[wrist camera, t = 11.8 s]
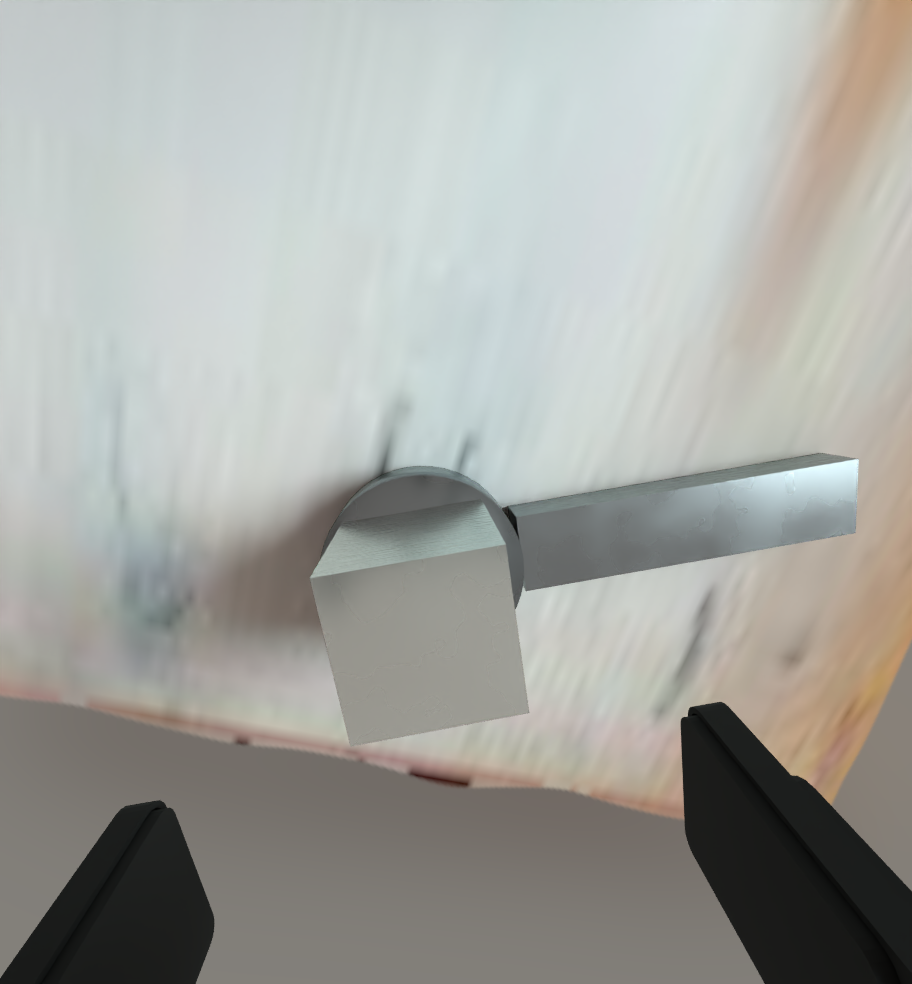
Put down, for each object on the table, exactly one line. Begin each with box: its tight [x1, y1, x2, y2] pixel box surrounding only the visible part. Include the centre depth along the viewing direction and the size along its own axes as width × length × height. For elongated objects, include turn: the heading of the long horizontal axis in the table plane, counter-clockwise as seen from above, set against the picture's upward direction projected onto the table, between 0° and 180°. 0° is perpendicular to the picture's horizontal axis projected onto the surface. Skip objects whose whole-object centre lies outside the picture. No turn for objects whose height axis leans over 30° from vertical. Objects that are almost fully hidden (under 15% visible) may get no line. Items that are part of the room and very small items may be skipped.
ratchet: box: [321, 453, 858, 609], centre depth 21 cm, size 25×9×6 cm, turn 99°
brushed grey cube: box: [310, 499, 529, 746], centre depth 18 cm, size 6×6×6 cm
